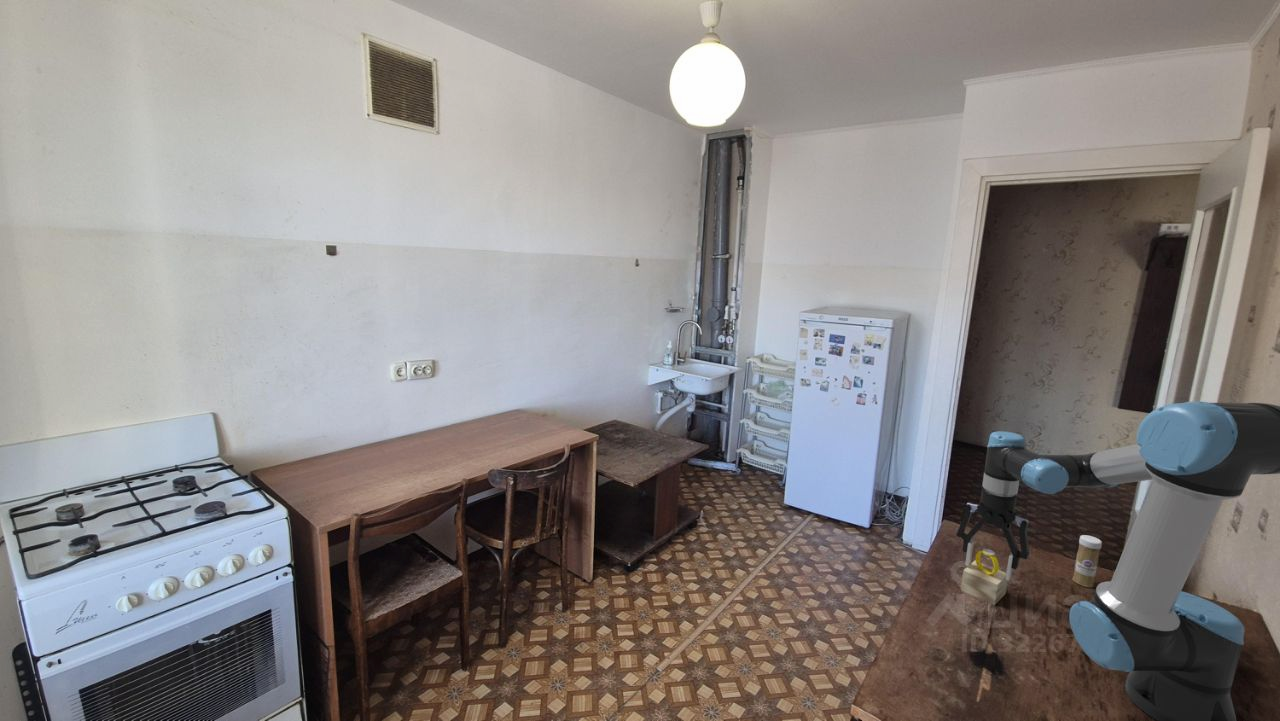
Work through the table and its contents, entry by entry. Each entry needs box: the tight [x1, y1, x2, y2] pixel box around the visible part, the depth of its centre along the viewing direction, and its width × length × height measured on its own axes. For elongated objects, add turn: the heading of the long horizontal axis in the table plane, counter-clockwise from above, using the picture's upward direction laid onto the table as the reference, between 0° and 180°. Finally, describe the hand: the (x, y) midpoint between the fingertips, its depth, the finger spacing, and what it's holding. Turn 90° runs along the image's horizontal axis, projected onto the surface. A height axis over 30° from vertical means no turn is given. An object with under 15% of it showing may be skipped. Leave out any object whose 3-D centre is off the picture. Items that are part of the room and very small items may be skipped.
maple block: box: [960, 560, 1009, 606], centre depth 138 cm, size 8×8×6 cm
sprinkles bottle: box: [1072, 534, 1103, 588], centre depth 141 cm, size 5×5×13 cm
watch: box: [974, 548, 1000, 575], centre depth 137 cm, size 6×3×6 cm, turn 13°
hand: (987, 570), depth 137 cm, fingers open, 8 cm apart
